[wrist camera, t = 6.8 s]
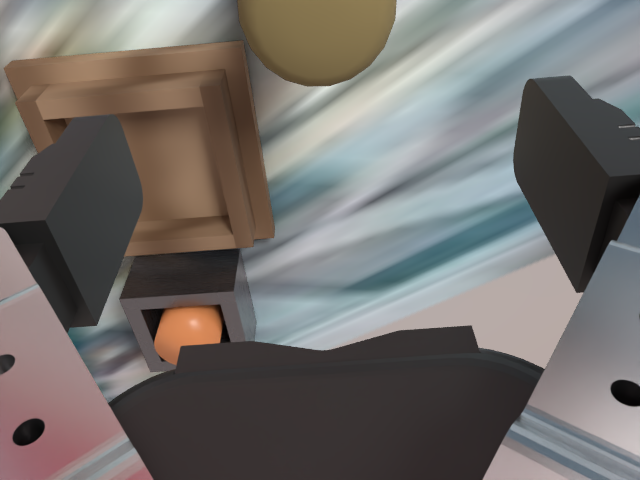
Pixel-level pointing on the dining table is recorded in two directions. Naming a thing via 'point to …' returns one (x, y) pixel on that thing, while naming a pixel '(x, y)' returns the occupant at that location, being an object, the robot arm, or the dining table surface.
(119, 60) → the crate
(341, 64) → the khaki rounded elongated piece
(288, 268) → the dining table surface
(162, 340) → the button
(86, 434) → the robot arm
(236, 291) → the button housing
